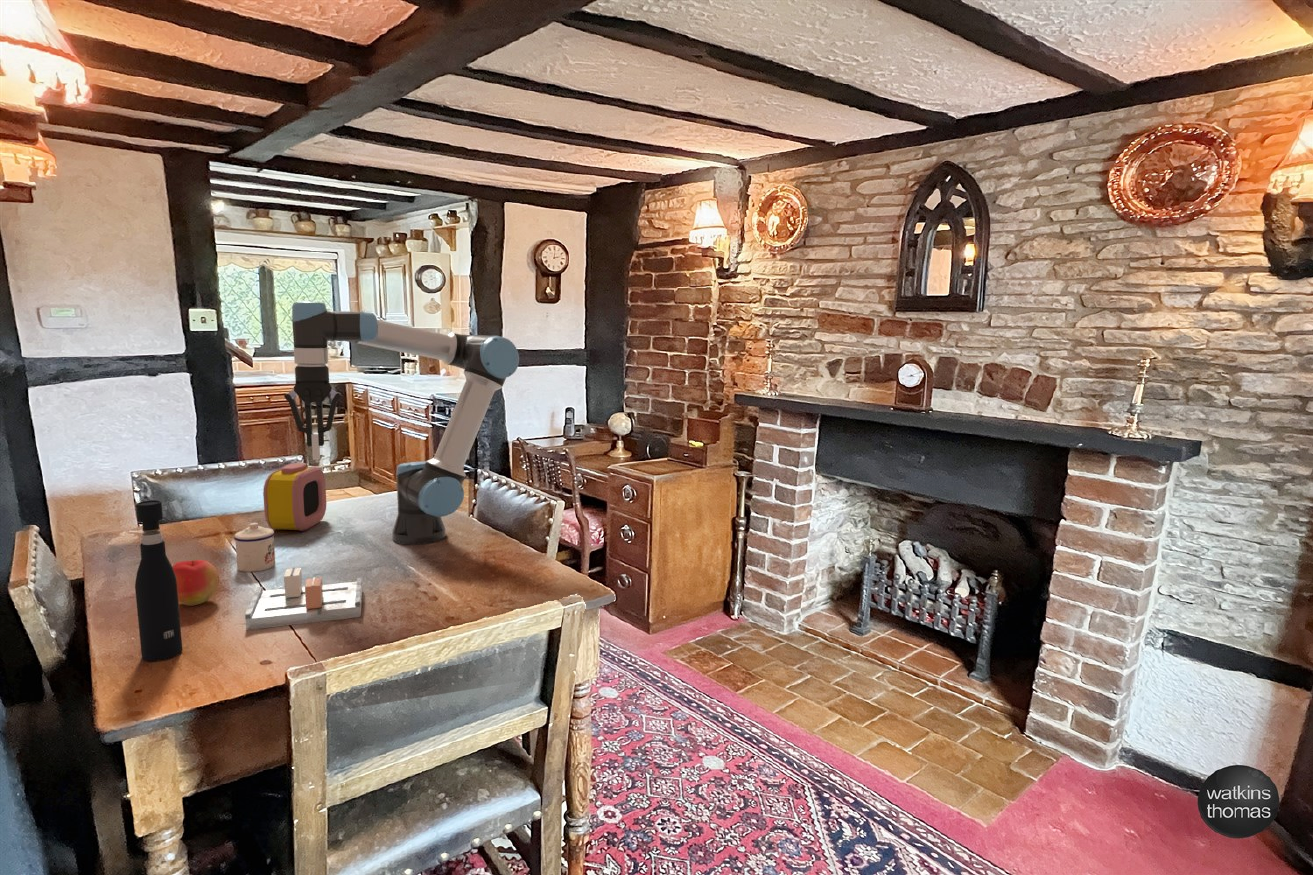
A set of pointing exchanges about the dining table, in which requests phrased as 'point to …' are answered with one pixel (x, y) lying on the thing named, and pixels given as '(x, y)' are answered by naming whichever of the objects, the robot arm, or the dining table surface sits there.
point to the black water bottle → (156, 590)
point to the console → (303, 606)
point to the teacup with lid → (255, 548)
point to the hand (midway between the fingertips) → (316, 458)
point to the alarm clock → (295, 497)
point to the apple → (195, 581)
